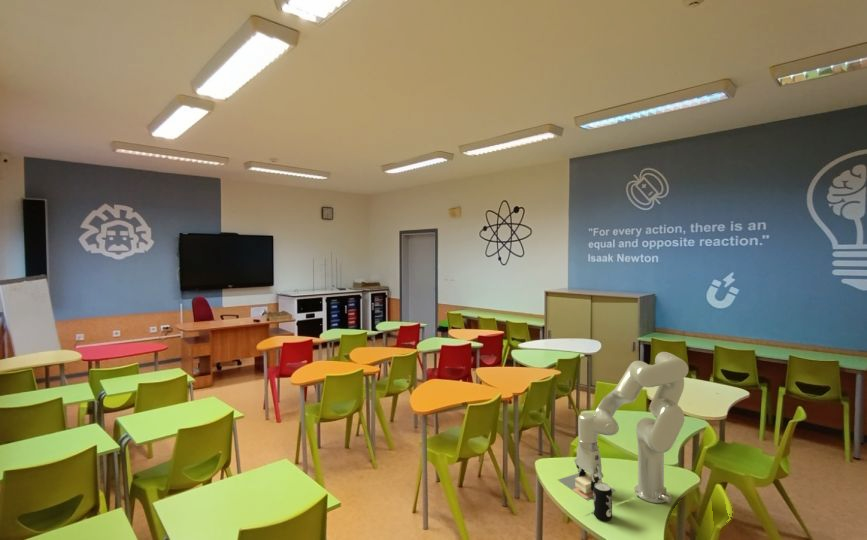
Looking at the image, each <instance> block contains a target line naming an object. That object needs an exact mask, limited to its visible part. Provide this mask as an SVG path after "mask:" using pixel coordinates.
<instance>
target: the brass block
mask: <svg viewBox="0 0 867 540" xmlns="http://www.w3.org/2000/svg"><path fill="white" fill-rule="evenodd" d="M594 477H596V476H595V475H594ZM591 481H592V477H591V474H590V473H588V474H587V475H584V476H581V477H578V478H575V487H577V488H578V489H580V490H581V491H583V492H584V493H589V492H592V490H591ZM598 482H603V478H601V479H600V480H599V481H598Z"/></svg>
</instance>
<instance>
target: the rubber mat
mask: <svg viewBox="0 0 867 540" xmlns="http://www.w3.org/2000/svg"><path fill="white" fill-rule="evenodd" d="M584 472H586V475H587V474H589V473H588V472H587V471H584ZM578 477H579V472H578V473H575V474H570V475H568V476H566V477H561V478H559V479H557V481H559V483H562V484H563V485H564V486H565V487H567V488H569V489H570V490H571V491H572V492H574V493H576V494H577V495H579V496H580V497H581V498H583V499H584V500H586V501H591V500H594V496H593V491H592V492H589V493H584V492H583V491H581V490H580V489H578V488H577V487H575V478H578ZM602 483H604V482H603V481H602ZM611 490H612V493H613V492H617V489H615V488H613V487H611Z"/></svg>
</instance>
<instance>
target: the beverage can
mask: <svg viewBox="0 0 867 540" xmlns="http://www.w3.org/2000/svg"><path fill="white" fill-rule="evenodd" d="M602 482H603V481H602ZM602 482H598V483H595V486H594V488H593V496H594V499H593V515H594V517H595V518H596V519H598V521H602V522H608V521H609V522H610V520H612V519H613V492H612V490H611V488H612V487H611V485H609V484H608V483H606V482H603V483H602Z"/></svg>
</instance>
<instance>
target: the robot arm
mask: <svg viewBox="0 0 867 540" xmlns="http://www.w3.org/2000/svg"><path fill="white" fill-rule="evenodd" d="M654 363H655V364H648V363H647V362H645V361H642V360H634V361H633V362H631V363H630V364H629V365H628V367H627V369H626V370H625V372H624V374H623V375H622V377H621V378H620V380H619V382H618V384H617V385H616V386H615V388H614V389H613V390H611V391H610V392H609V393H607V395H605V396H603V398H602V400H601V401H600V403H599V404H598V406H597V407H596V409H595V410H594V413H590V412H582V413H580V414H579V415H578V417H577V420H578V421H577V422H578V424H577V426H578V427H577V428H578V429H577V430H578V432H577V433H578V435H577V436H578V444H577V449H576V458H575V459H574V461H573V462H574V463H575V465H576V468H577V472H578V473H579V477H581V476H584V475H586V472H587V473H588V474H591V477H592V481H591V490H592V491H593V488H594V486H595V483H598V481H599V480H600V479H603V478H605V477H604V473H603V472H602V458H601V453H600V450H599V446H598V445H599V444H598V442H599V441H598V435H601V436H607V437H608V436H609V437H612V436H615V435H617V433H619V429H620V427H619V424H618V422H617V420H616V419H615V417H614V415H615V413H616V412H617V411H618V409H619V408H620V407H622V406H623V405H625V404H630V403H631V404H632V403H634V402H635V401H636V399H637V398H638V397H639V395H640V393H641V392H642V390H643V389H644V388H654V387H657V389H656V391H655V393H654V395H653V398H652V400H651V402H650V404H649V411H650V413H651V414H652V415H653V416H654V418H656V419H654V418H653V417H643V418H641V419H639V421H638V422H637V424H636V426H635V427H636V429H635V431H636V440H637V450H638V451H637V452H638V453H637V454H638V455H637V468H638V469H637V471H638V472H637V475H638V476H637V478H638V479H637V484H636V486H634V490H633V492H634V493H635V495H637V497H638V498H639V499H642V500H643V501H645V502H648V503H653V504H663V503H665V502H667V503H670V502H671V501H672V499H673V495H671V494H670V493H668V492H667V487H665V453H666V452H668V451H670V450H671V449H672V448H673V446H674V444H675V443H676V441H677V438H678V436H679V434H680V432H681V430H682V428H683V426H684V423H685V412H684V410H683V409H682V408H681V406H680V405H678V404H679V402H680V399H681V397H682V394H683V392H684V388H685V377H687V375H688V373H689V366H688V364H687V362H686V361H684V360H683V359H682V358H680V357H678V356H676V355H675V354H673V353H670V352H667V351H661V352H659V353H657V354H656V356H655V359H654ZM584 471H585V472H584ZM594 475H595V476H596V477H594Z"/></svg>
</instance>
